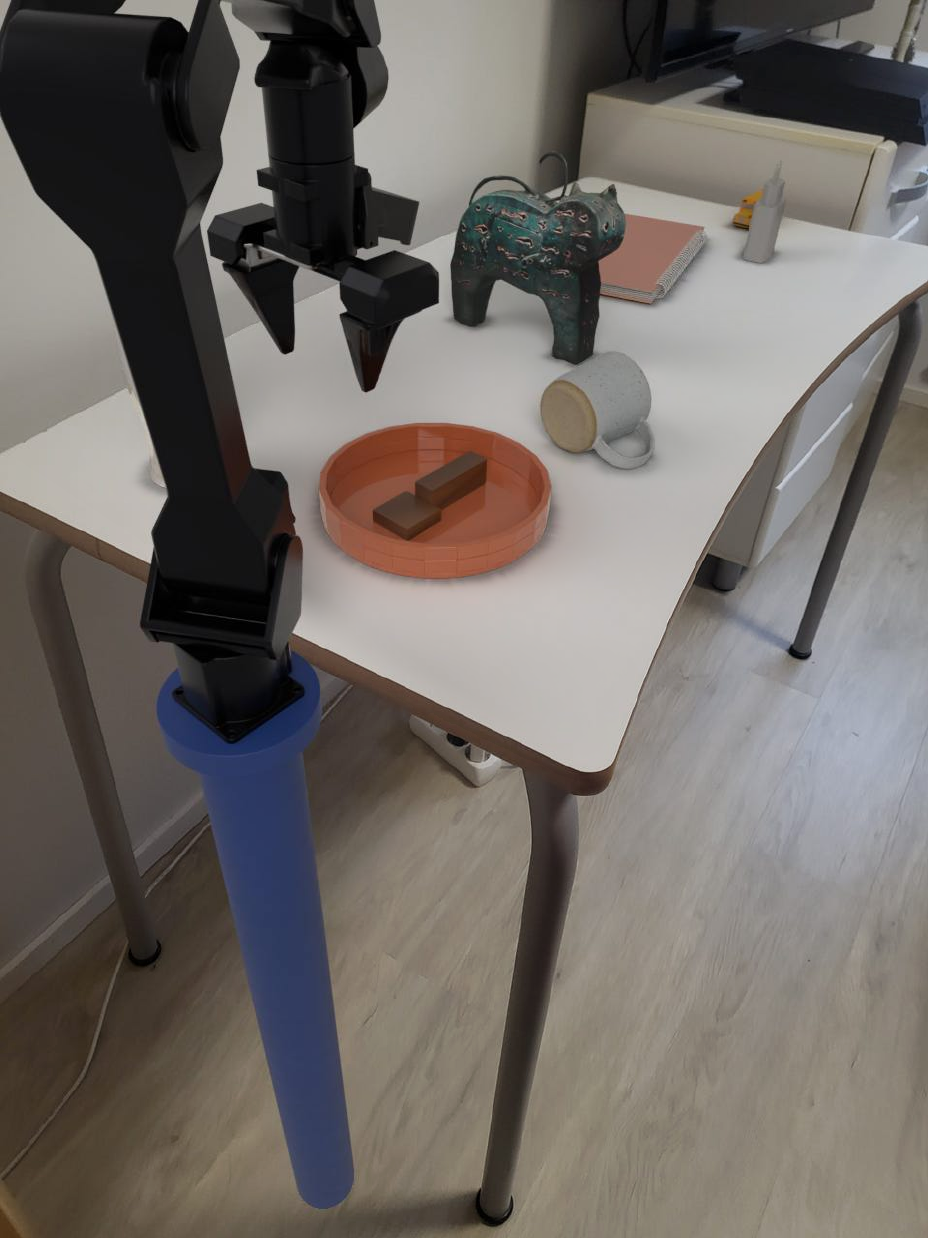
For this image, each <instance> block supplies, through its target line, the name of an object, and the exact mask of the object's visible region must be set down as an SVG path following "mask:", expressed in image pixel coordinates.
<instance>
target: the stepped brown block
mask: <svg viewBox="0 0 928 1238" xmlns="http://www.w3.org/2000/svg"><path fill="white" fill-rule="evenodd" d="M486 473H487V458H484V457H482V456H480V455H478V454H476V453H474V452H472V451H468V452H467V453H465V454H463V455H461V456H460V457H458V458H456V459H454V460H453V461H451V462H449V463H447V464H446V465H444V466H442V467H440V468H438V469H437V470H435V471H433V472H431V473H430V474H428V475H426V476H424V477H423V478H421V479H419V480H417V481H416V482H415V495H414V494H412V493H410V492H408V491H405V492H403V493H401V494H399V495H398V496H396V497H394V498H392V499H391V500H389V501H387V502H385V503H384V504H382V505H380V506H378V507H377V508H375V509H373V522H375V523H376V524H378V525H380V526H382V527H384V528H385V529H387V530H389V531H391V532H393V533H394V534H396V535H398V536H400V537H401V538H403V539H405V540H407V541H409V540H410V539H412V538H414V537H415V536H417V535H418V534H420V533H422V532H423V531H425V530H427V529H428V528H430V527H431V526H433V525H435V524H436V523H438V522H440V521H441V510H443V509H444V508H446V507H448V506H449V505H451V504H453V503H454V502H456V501H458V500H459V499H461V498H462V497H464V496H466V495H467V494H469V493H471V492H472V491H474V490H476V489H477V488H479V487H481V486H482V485H484V484H486Z"/></svg>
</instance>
